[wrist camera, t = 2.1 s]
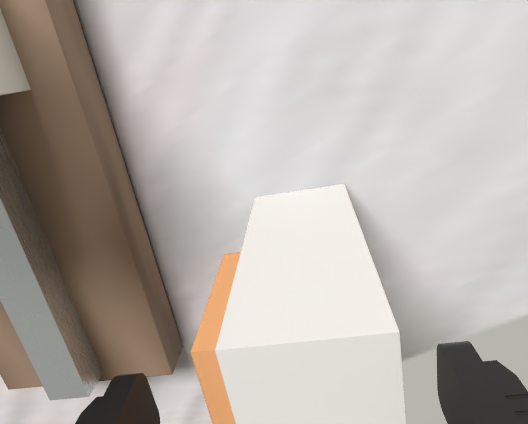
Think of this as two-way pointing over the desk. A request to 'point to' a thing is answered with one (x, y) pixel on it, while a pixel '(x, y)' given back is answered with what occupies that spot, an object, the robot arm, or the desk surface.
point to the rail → (69, 220)
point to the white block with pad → (300, 321)
